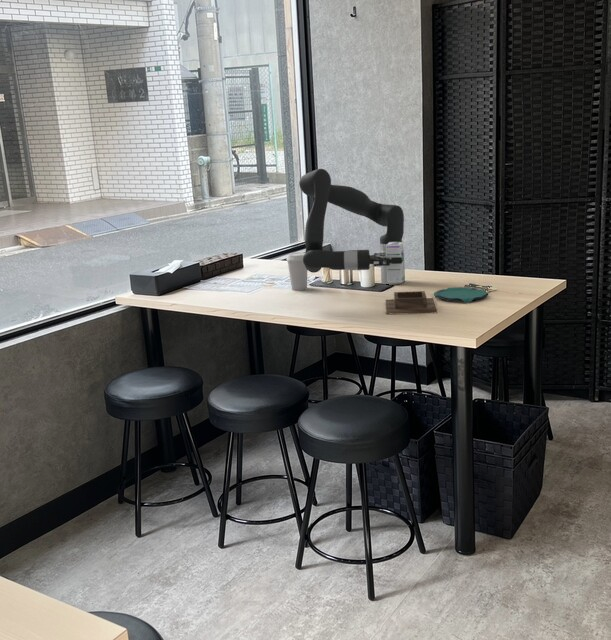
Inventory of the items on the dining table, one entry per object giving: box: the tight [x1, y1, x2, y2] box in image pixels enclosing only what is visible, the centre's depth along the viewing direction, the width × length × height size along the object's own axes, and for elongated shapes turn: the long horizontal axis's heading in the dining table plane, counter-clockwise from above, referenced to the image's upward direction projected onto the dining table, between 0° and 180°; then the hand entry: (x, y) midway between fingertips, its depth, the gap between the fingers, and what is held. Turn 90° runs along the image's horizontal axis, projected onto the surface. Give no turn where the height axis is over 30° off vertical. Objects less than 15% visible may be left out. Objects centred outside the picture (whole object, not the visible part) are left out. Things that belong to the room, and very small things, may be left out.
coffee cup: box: [286, 252, 308, 291], centre depth 328 cm, size 10×10×15 cm
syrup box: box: [386, 241, 406, 284], centre depth 287 cm, size 6×6×14 cm
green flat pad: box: [433, 282, 493, 304], centre depth 301 cm, size 20×30×2 cm, turn 137°
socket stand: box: [385, 290, 438, 315], centre depth 286 cm, size 18×18×5 cm
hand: (401, 258), depth 287 cm, fingers closed on syrup box, 6 cm apart
